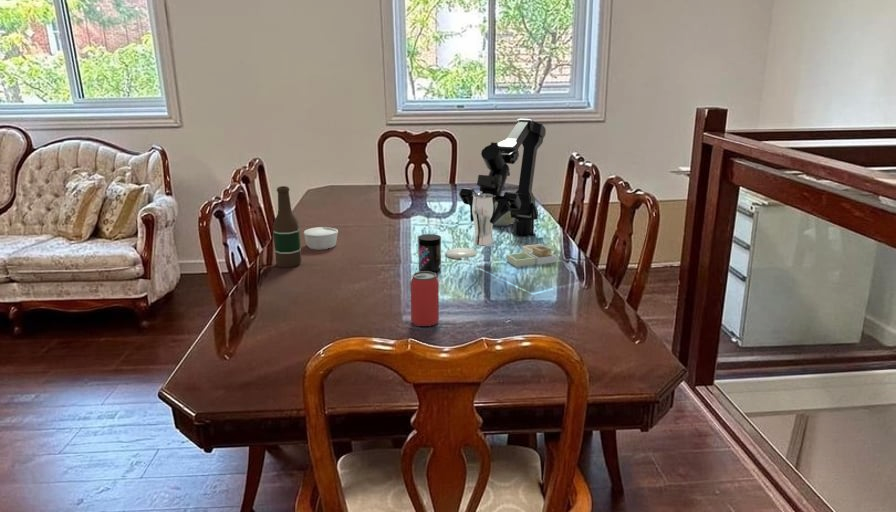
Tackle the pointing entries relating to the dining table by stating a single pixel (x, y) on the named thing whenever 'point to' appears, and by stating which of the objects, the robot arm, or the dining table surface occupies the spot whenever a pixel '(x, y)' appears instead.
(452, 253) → the stone coaster
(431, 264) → the supplement container
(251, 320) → the dining table surface
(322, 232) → the ramekin
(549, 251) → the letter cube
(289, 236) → the beer bottle
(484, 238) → the beer glass
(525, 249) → the cream dish
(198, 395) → the dining table surface
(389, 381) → the dining table surface
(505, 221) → the air freshener
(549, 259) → the pale blue dish
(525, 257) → the sage dish
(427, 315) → the beer can
